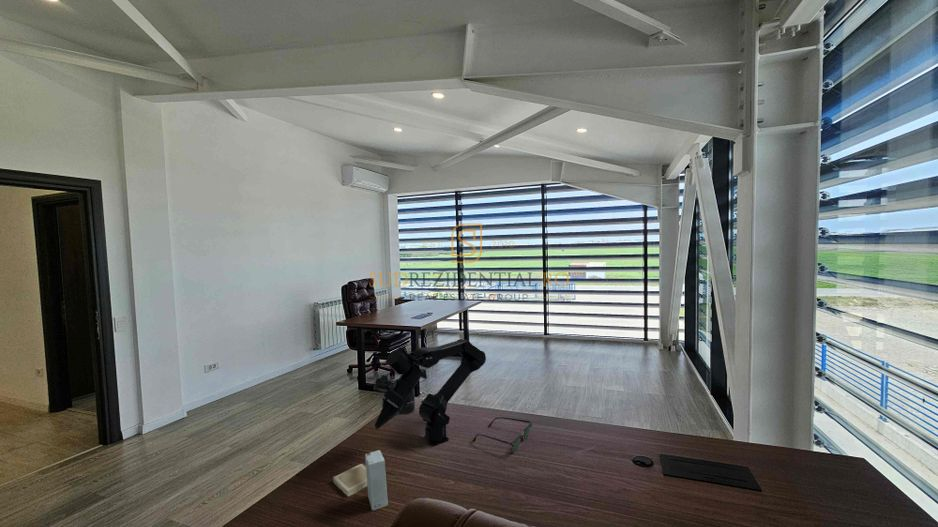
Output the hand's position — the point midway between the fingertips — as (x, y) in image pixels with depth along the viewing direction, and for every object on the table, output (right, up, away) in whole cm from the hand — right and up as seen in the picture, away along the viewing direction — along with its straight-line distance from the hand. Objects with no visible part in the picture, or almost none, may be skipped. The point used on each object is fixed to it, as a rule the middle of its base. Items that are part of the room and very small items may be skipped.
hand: (376, 427), depth 108 cm
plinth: (-5, -13, -5) cm, 15 cm away
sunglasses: (+39, -12, +16) cm, 44 cm away
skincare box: (+4, -14, -13) cm, 20 cm away
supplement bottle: (+2, -12, +41) cm, 42 cm away
